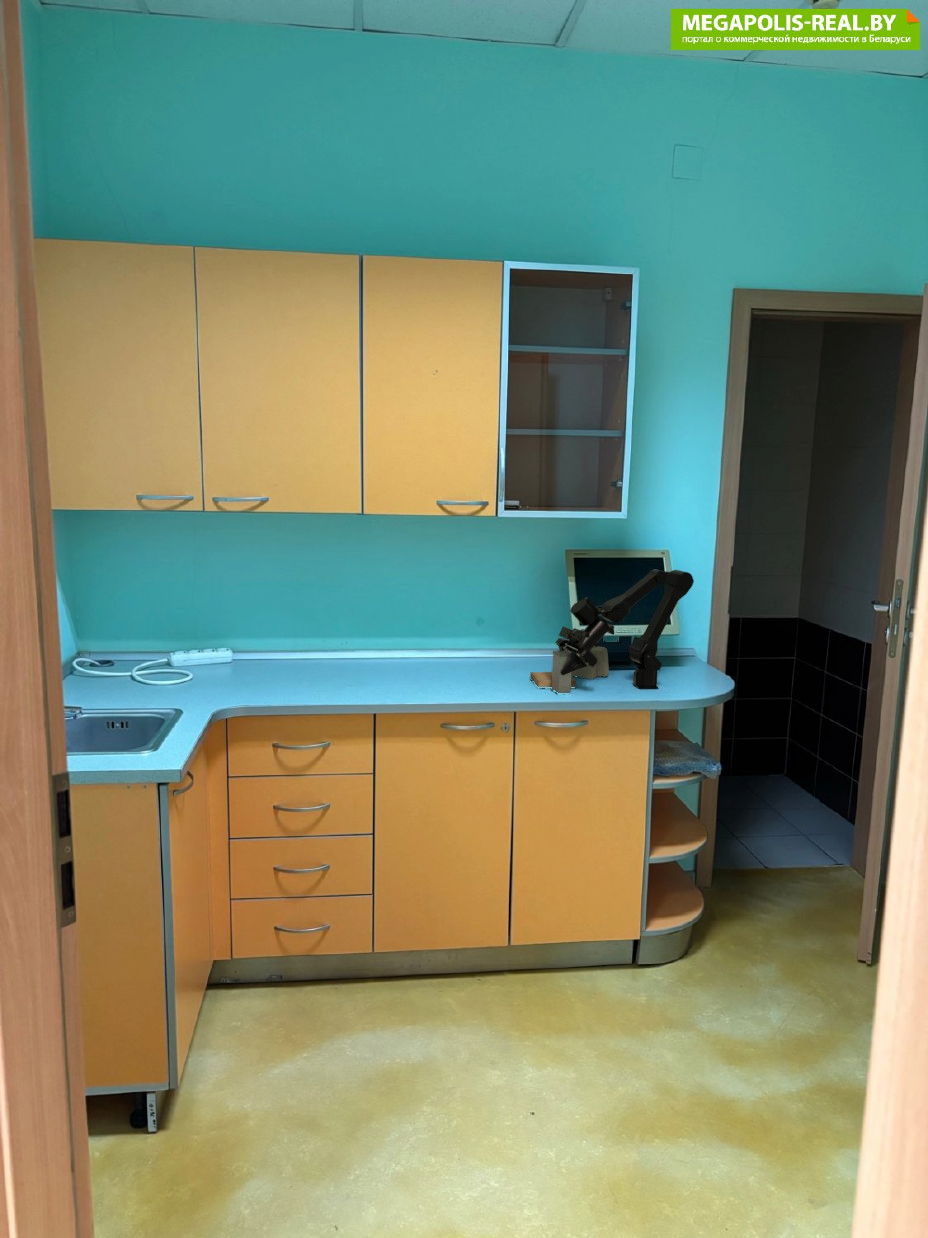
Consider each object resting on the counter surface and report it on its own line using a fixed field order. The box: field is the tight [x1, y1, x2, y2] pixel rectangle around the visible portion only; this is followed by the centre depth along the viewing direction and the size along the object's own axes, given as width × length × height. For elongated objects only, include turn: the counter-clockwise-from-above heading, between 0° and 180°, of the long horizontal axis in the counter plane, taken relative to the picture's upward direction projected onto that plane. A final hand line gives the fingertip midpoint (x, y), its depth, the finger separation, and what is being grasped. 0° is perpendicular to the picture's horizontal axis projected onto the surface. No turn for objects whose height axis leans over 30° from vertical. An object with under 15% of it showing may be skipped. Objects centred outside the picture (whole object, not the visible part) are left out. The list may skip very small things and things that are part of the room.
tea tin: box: [551, 650, 572, 693], centre depth 285 cm, size 4×5×13 cm
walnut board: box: [529, 671, 577, 688], centre depth 297 cm, size 12×12×2 cm
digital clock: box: [571, 646, 610, 680], centre depth 308 cm, size 16×9×11 cm, turn 53°
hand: (557, 672), depth 285 cm, fingers closed on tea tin, 5 cm apart
